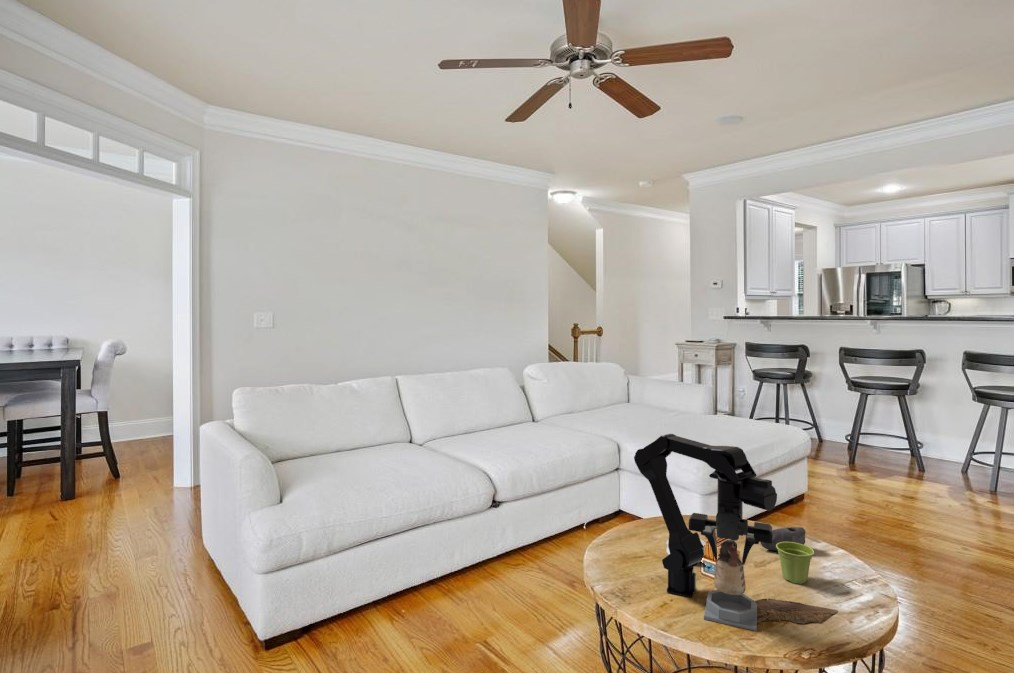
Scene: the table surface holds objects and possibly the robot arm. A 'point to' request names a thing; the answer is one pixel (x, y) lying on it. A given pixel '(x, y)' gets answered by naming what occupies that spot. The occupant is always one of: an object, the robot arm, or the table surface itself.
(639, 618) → the table surface
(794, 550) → the plant pot
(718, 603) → the tray
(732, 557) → the figurine
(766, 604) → the wooden fragment
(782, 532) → the perforated stone tool
